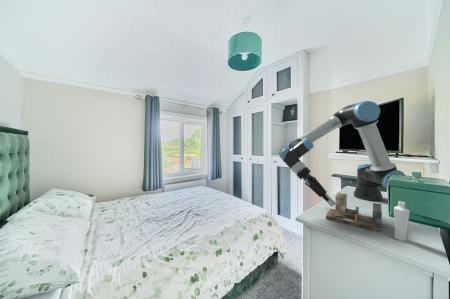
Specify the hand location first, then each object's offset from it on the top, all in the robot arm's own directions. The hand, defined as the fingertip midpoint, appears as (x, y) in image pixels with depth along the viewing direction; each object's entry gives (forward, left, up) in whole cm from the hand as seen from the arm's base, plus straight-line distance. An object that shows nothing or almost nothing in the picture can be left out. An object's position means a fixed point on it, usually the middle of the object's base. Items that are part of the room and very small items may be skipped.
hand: (333, 205), depth 90 cm
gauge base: (-6, +5, -6) cm, 10 cm away
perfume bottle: (-14, +21, -6) cm, 26 cm away
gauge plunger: (-4, +3, -4) cm, 7 cm away
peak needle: (-7, +7, -4) cm, 10 cm away
